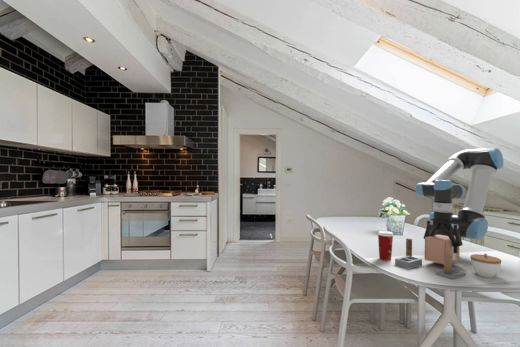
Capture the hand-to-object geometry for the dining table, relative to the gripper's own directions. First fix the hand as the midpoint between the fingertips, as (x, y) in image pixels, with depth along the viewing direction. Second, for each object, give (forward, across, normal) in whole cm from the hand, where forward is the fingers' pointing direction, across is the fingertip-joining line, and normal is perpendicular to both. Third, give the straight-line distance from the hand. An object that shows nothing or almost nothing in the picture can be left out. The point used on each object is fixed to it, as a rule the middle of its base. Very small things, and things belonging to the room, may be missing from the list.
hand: (441, 256), depth 139 cm
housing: (+2, 0, 0) cm, 2 cm away
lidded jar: (+4, +17, +2) cm, 18 cm away
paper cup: (+4, -20, -16) cm, 26 cm away
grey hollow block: (+4, -8, -15) cm, 17 cm away
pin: (+4, -15, -3) cm, 16 cm away
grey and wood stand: (+4, +9, -11) cm, 15 cm away
